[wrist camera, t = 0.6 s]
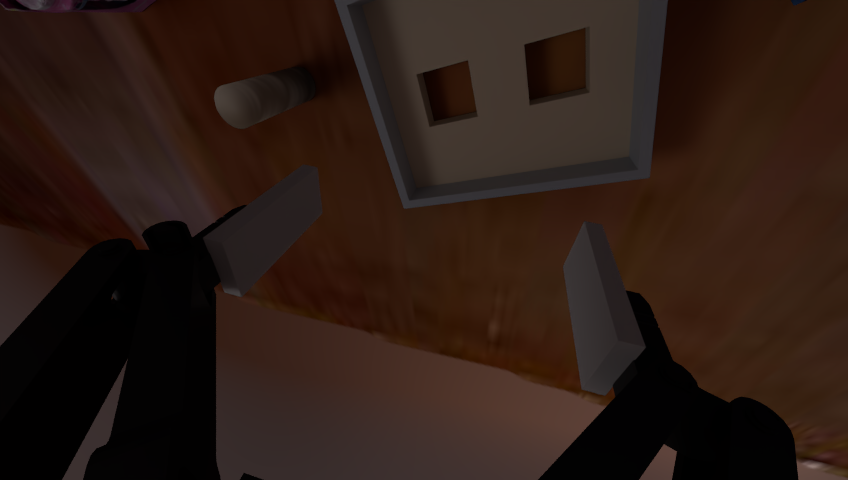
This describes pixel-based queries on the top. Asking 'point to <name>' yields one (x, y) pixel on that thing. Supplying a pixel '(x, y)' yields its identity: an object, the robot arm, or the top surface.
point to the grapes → (797, 1)
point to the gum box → (76, 5)
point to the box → (508, 94)
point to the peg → (263, 96)
